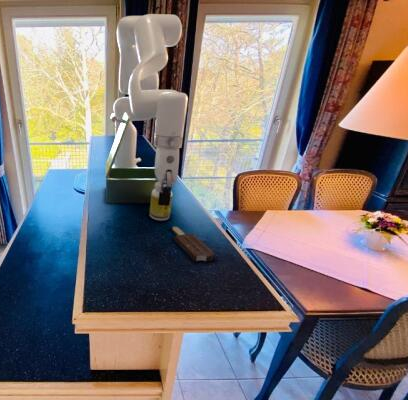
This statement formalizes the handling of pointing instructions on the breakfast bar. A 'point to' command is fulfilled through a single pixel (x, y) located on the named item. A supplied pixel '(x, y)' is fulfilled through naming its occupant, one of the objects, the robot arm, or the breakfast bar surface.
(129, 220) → the breakfast bar surface
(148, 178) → the bin
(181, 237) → the ice cream bar
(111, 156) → the bin lid
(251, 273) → the breakfast bar surface
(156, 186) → the pill bottle
